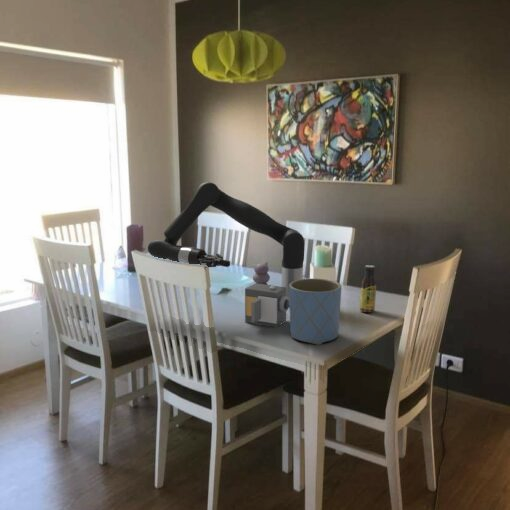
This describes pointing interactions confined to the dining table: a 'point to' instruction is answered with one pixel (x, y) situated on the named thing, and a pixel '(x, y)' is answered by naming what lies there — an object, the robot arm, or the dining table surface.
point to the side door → (264, 310)
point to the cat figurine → (261, 273)
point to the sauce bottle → (368, 290)
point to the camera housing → (267, 291)
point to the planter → (314, 310)
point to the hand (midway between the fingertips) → (229, 264)
